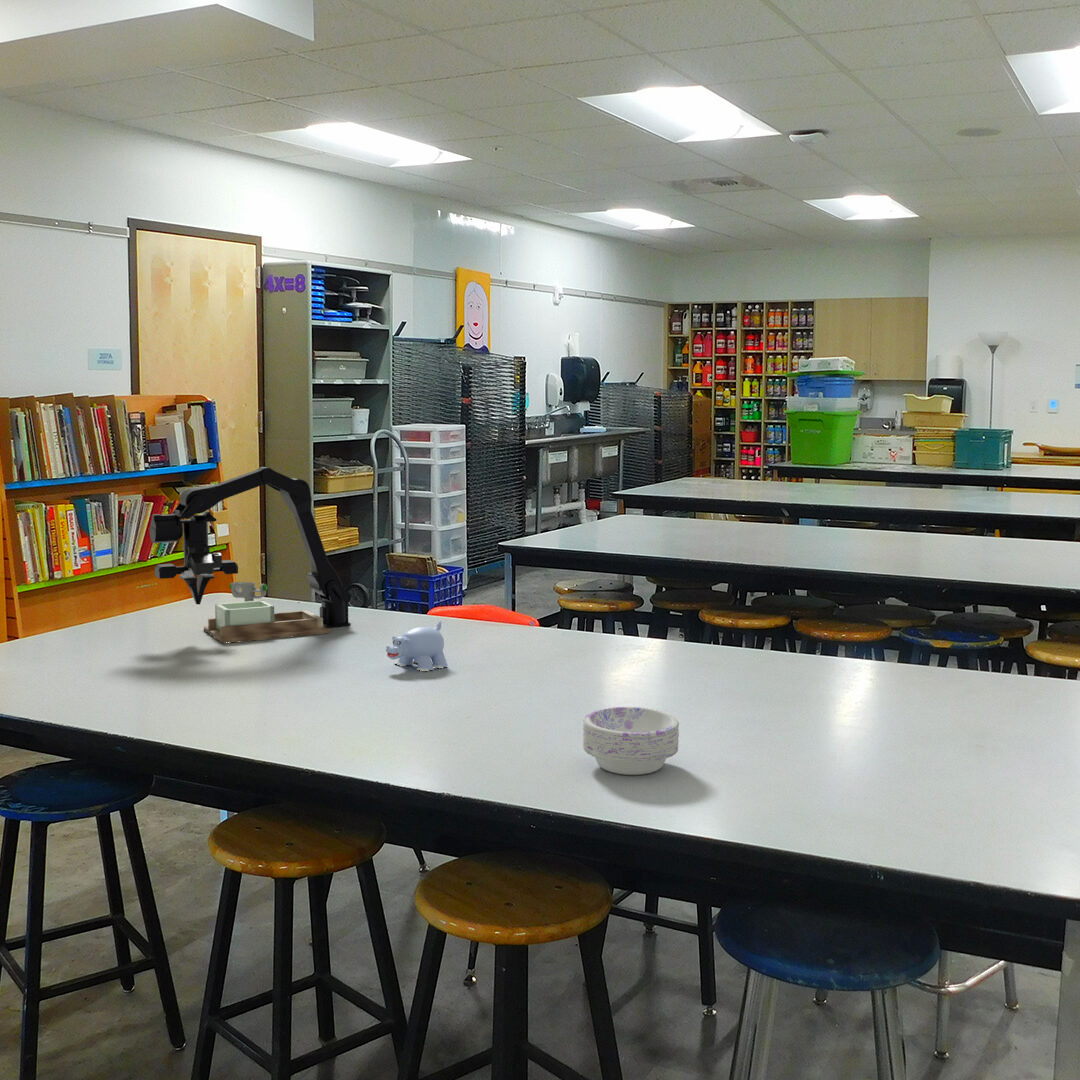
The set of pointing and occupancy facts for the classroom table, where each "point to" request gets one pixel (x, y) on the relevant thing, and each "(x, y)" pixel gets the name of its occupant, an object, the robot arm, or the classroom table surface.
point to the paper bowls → (630, 739)
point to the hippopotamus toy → (419, 648)
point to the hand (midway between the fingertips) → (197, 604)
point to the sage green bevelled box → (243, 613)
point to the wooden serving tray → (270, 627)
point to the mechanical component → (247, 590)
